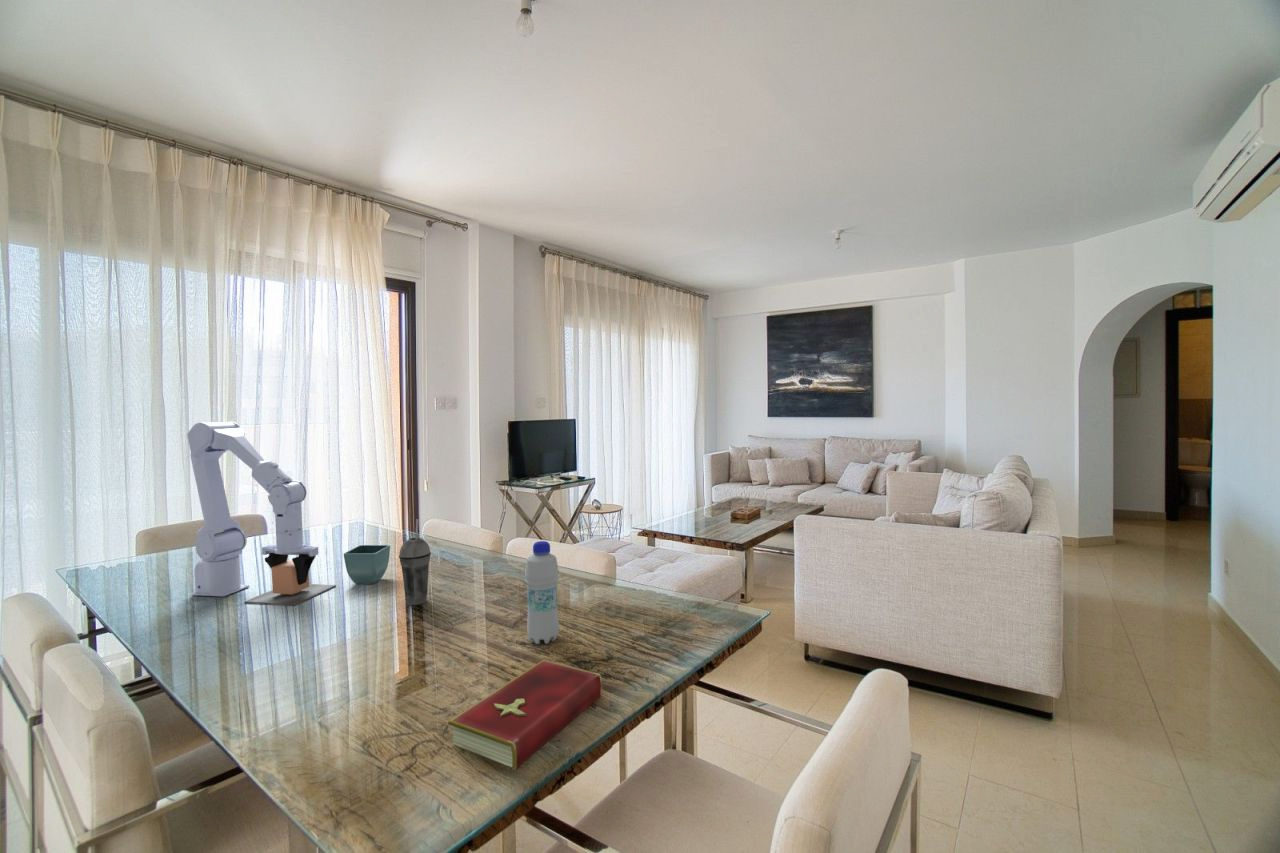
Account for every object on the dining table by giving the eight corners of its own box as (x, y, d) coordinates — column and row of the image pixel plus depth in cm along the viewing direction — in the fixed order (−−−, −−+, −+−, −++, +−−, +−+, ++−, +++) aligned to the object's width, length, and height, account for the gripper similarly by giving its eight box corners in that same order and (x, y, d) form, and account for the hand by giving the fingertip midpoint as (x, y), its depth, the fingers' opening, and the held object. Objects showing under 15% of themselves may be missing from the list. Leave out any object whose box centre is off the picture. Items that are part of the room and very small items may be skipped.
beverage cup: (393, 605, 134) (390, 522, 133) (416, 595, 141) (413, 516, 140) (417, 608, 131) (414, 524, 130) (439, 598, 138) (436, 517, 137)
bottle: (565, 635, 115) (563, 538, 114) (550, 648, 109) (547, 546, 108) (537, 631, 117) (534, 536, 116) (519, 644, 111) (517, 544, 110)
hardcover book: (602, 698, 91) (602, 672, 91) (515, 774, 73) (514, 742, 72) (544, 681, 97) (543, 657, 97) (449, 748, 78) (448, 719, 78)
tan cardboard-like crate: (272, 593, 140) (271, 567, 140) (290, 585, 146) (288, 560, 145) (292, 594, 139) (291, 568, 139) (309, 586, 145) (308, 561, 144)
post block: (244, 603, 137) (243, 581, 137) (289, 584, 151) (288, 564, 150) (295, 605, 134) (294, 583, 134) (335, 586, 148) (335, 566, 148)
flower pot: (376, 586, 148) (375, 553, 147) (343, 587, 148) (342, 553, 148) (392, 576, 156) (391, 544, 156) (360, 576, 157) (359, 544, 156)
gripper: (250, 532, 139) (253, 586, 140) (302, 534, 137) (305, 589, 137) (273, 526, 146) (276, 578, 147) (323, 527, 144) (325, 580, 144)
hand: (291, 582), depth 142 cm, fingers closed on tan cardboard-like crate, 5 cm apart
